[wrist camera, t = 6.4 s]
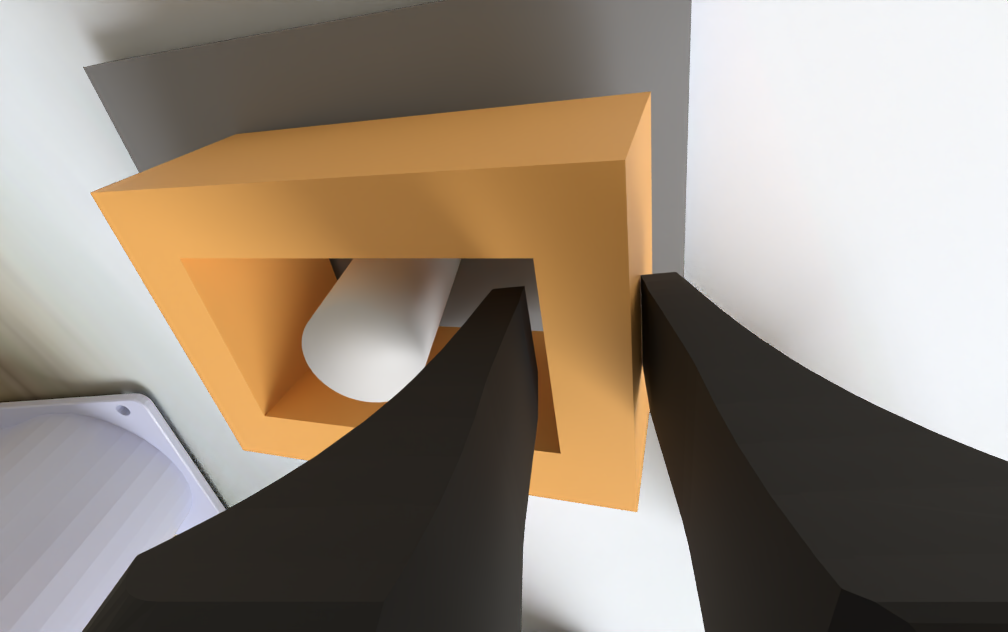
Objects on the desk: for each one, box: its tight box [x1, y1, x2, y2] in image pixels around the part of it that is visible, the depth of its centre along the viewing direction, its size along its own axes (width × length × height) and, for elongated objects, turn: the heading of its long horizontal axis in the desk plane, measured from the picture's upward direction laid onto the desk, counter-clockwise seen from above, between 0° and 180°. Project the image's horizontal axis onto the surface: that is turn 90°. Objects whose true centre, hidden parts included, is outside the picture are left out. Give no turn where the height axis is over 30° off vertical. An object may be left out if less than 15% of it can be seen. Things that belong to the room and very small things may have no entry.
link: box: [91, 92, 652, 512], centre depth 12 cm, size 10×7×4 cm
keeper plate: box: [83, 0, 691, 402], centre depth 13 cm, size 14×11×6 cm
